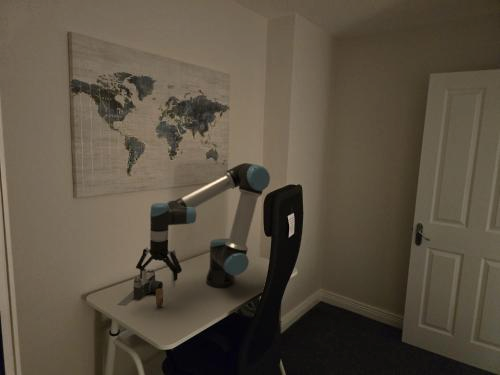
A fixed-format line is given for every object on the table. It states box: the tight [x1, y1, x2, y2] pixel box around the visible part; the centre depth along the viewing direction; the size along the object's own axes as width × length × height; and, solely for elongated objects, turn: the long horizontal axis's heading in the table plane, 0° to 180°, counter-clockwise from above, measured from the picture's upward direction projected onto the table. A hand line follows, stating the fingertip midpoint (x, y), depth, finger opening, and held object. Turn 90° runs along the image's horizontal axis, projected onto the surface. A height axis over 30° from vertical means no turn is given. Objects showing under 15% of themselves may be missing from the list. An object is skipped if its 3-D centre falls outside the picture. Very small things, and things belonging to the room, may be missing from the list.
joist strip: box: [117, 289, 134, 306], centre depth 156 cm, size 4×17×1 cm, turn 171°
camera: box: [133, 268, 164, 301], centre depth 159 cm, size 16×10×10 cm, turn 168°
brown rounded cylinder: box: [155, 288, 164, 309], centre depth 146 cm, size 3×3×8 cm
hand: (158, 285), depth 145 cm, fingers open, 13 cm apart
